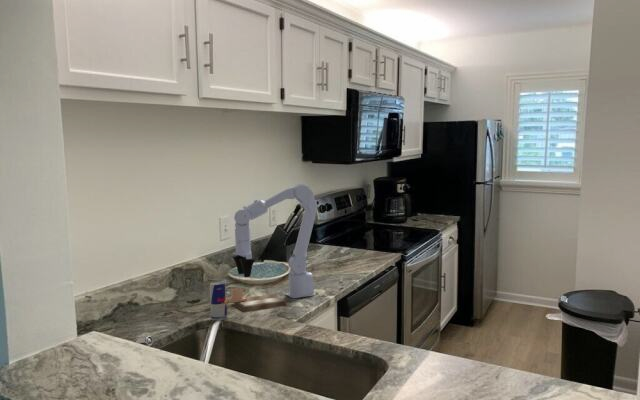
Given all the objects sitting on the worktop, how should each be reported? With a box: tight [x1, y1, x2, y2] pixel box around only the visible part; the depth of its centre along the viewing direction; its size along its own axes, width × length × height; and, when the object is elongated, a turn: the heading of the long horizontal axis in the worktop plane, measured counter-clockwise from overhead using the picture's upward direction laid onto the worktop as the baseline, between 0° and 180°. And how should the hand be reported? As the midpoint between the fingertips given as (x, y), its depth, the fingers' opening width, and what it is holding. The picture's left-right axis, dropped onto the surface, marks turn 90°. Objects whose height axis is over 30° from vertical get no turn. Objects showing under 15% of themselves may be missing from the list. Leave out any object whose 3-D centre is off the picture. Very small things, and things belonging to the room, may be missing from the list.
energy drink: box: [208, 281, 228, 322], centre depth 164 cm, size 5×5×12 cm
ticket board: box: [233, 293, 287, 312], centre depth 182 cm, size 16×14×2 cm
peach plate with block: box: [226, 287, 248, 304], centre depth 182 cm, size 6×5×4 cm
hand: (244, 275), depth 191 cm, fingers open, 7 cm apart
